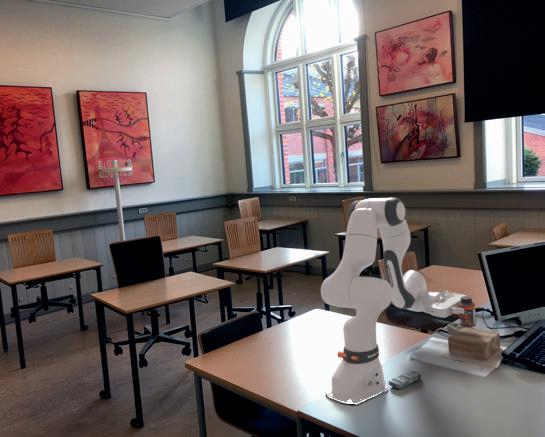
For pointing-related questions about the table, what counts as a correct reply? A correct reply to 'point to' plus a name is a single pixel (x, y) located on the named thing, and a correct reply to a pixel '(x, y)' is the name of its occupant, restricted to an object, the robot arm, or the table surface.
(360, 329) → the robot arm
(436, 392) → the table surface
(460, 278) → the table surface
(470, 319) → the supplement bottle
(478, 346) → the walnut block
